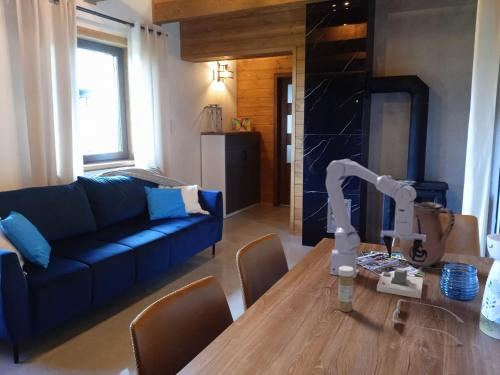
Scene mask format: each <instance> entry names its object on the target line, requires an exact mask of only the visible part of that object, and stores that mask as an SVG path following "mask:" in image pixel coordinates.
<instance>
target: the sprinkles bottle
mask: <svg viewBox="0 0 500 375" xmlns="http://www.w3.org/2000/svg"><path fill="white" fill-rule="evenodd" d="M353 276H354V269H353V268H352V267H350V266H341V267H339V275H338V293H337V294H338V297H337V300H338V302H337V304H338V305H337V308H338V310H339V311H342V312H345V313H346V312H347V313H348V312H351V311H352V310H353V300H354V299H353V298H354V278H353Z"/></svg>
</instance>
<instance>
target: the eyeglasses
mask: <svg viewBox="0 0 500 375" xmlns="http://www.w3.org/2000/svg"><path fill="white" fill-rule="evenodd" d="M401 302H404V303H405V302H408V303H409V302H410V303H411V301H408V300H406V299H398V301H397V304H396V309H395V311H394V312H393V314H392V328H394V327H395V324H398V323H399V324H403V325H404V324H405V325H408V326H410V324H409V323H404V322H400V321H398V320H397V318H399V314H400V311H401ZM413 304H417V302H414V301H413ZM418 304H420V305H421V304H422V305H423V303H422V302H421V303H420V302H418ZM424 305H426V306H427V305H428V304H427V303H426V304H425V303H424ZM429 306H431V307H433V305H431V304H429ZM434 307H435V308H438V309H439V308H440V309H442V310H444V311H447V312H449V313H450V314H451V315H452V316H454V317H455V318H456V319H457V322H459V323H464V321H463V320H462V319H461V318H460V317H459V316H458V315H456V314H455V313H453V312H452V311H450V310H449V309H446V308H444V307H441V306H436V305H434ZM411 326H412V327H418V328H422V329H427V330H432V331H436V332H437V331H438V332H439V333H440V332H441V333H444V334H446V335H448V336H449V337H450V338H452V339H453V340H454V341H455V342H456V344H457V345H460V346H464V343H463V342H462V341H461V340H459V339H458V338H457V337H455V336H454V335H452V334H450V333H448V332H446V331H443V330H440V329H436V328H435V329H434V328H427V327H423V326H417V325H413V324H411Z"/></svg>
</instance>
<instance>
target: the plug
mask: <svg viewBox="0 0 500 375" xmlns="http://www.w3.org/2000/svg"><path fill="white" fill-rule="evenodd" d="M393 274H394V283H393V284H398V285H404V286H408V285H407V276H408V269H406V268H400V267H398V268H395V269H394V273H393Z"/></svg>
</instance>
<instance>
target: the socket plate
mask: <svg viewBox="0 0 500 375" xmlns="http://www.w3.org/2000/svg"><path fill="white" fill-rule="evenodd" d="M423 281H424V277H418V276H412V275H407V286H404V285H398V284H394V273H391V272H390V271H389V272H388V271H382V272H381V275H380V278H379V280H378V282H377V284H376V292H380V293H387V294H391V295H392V294H393V295H398V296H405V297H409V298H416V299H417V298H418V299H422V293H423V292H422V291H423V283H424V282H423Z"/></svg>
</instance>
